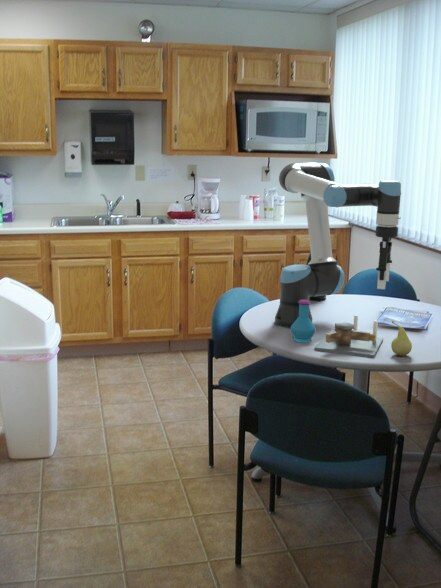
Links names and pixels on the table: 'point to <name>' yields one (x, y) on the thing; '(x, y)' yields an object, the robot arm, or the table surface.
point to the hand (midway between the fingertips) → (382, 284)
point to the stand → (353, 344)
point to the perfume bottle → (303, 324)
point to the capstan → (347, 334)
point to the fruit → (401, 343)
